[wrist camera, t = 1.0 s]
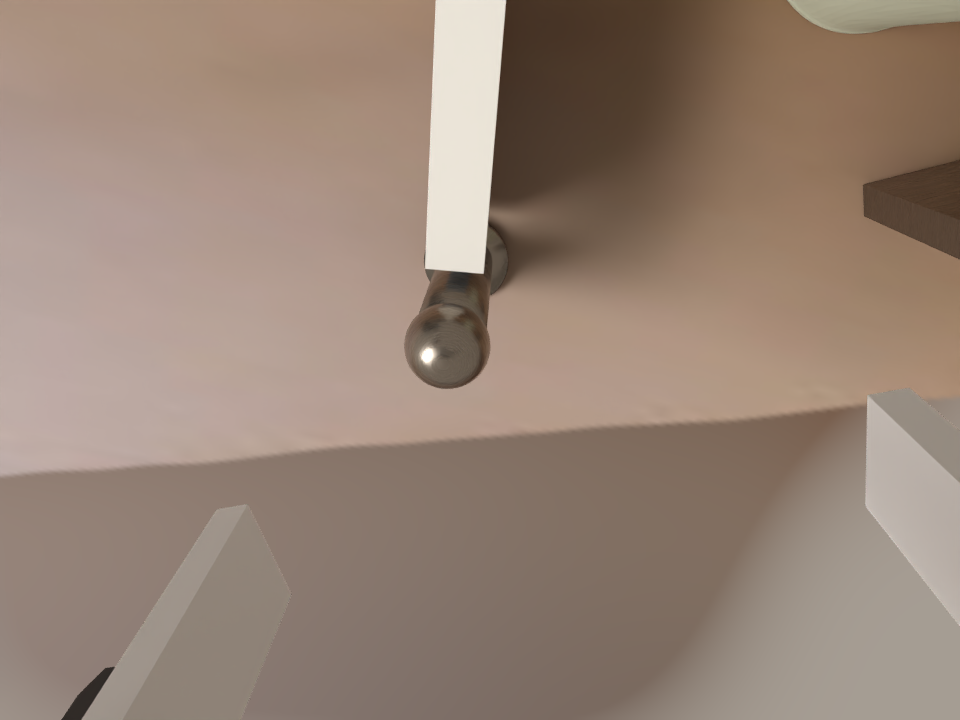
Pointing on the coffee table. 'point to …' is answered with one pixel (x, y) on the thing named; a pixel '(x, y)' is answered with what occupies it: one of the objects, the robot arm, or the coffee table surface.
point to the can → (875, 13)
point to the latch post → (920, 205)
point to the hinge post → (456, 321)
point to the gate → (463, 131)
